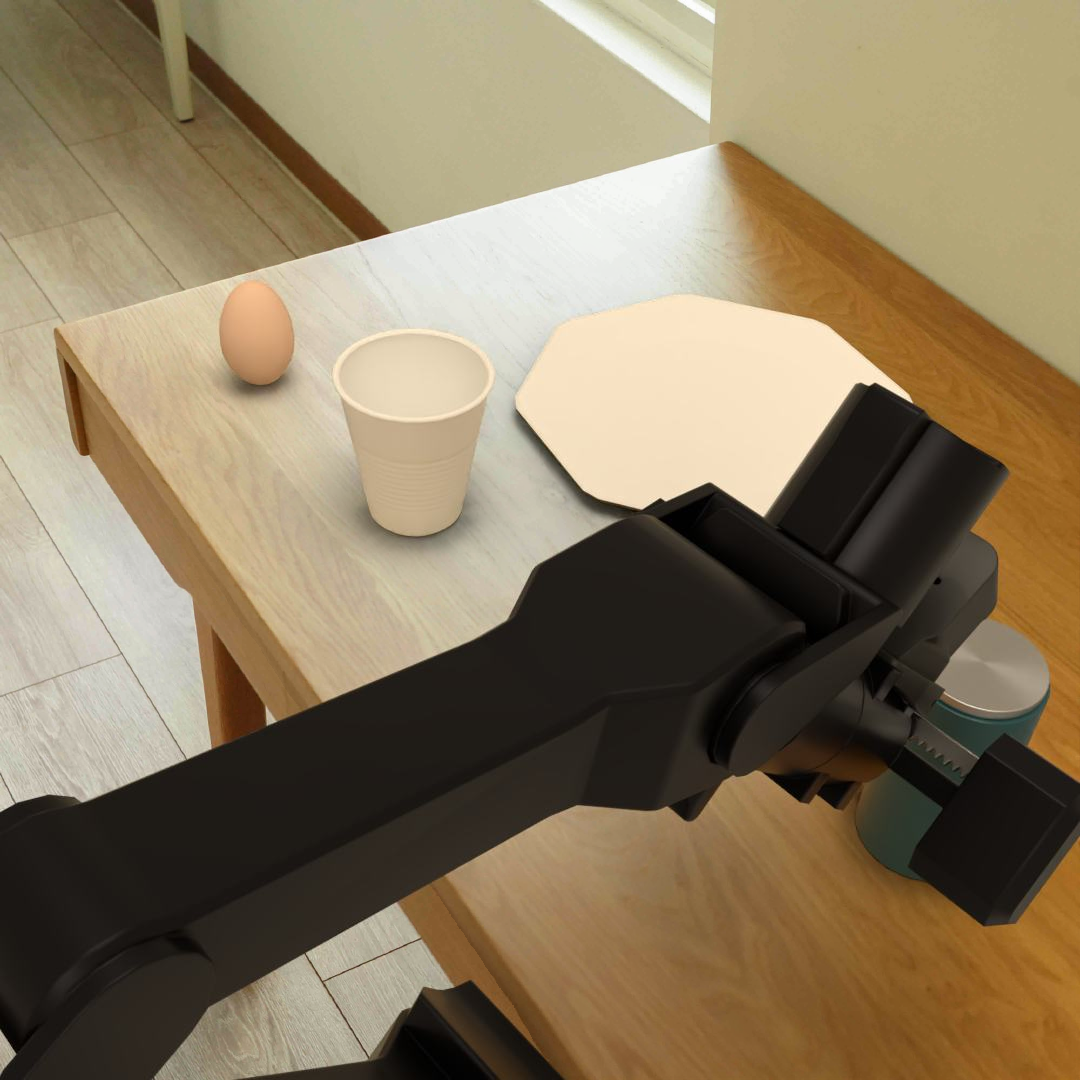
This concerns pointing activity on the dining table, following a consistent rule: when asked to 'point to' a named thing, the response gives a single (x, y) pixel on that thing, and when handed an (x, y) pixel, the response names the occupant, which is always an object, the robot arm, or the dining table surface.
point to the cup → (414, 423)
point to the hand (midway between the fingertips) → (900, 738)
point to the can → (958, 733)
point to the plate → (688, 398)
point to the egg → (256, 333)
